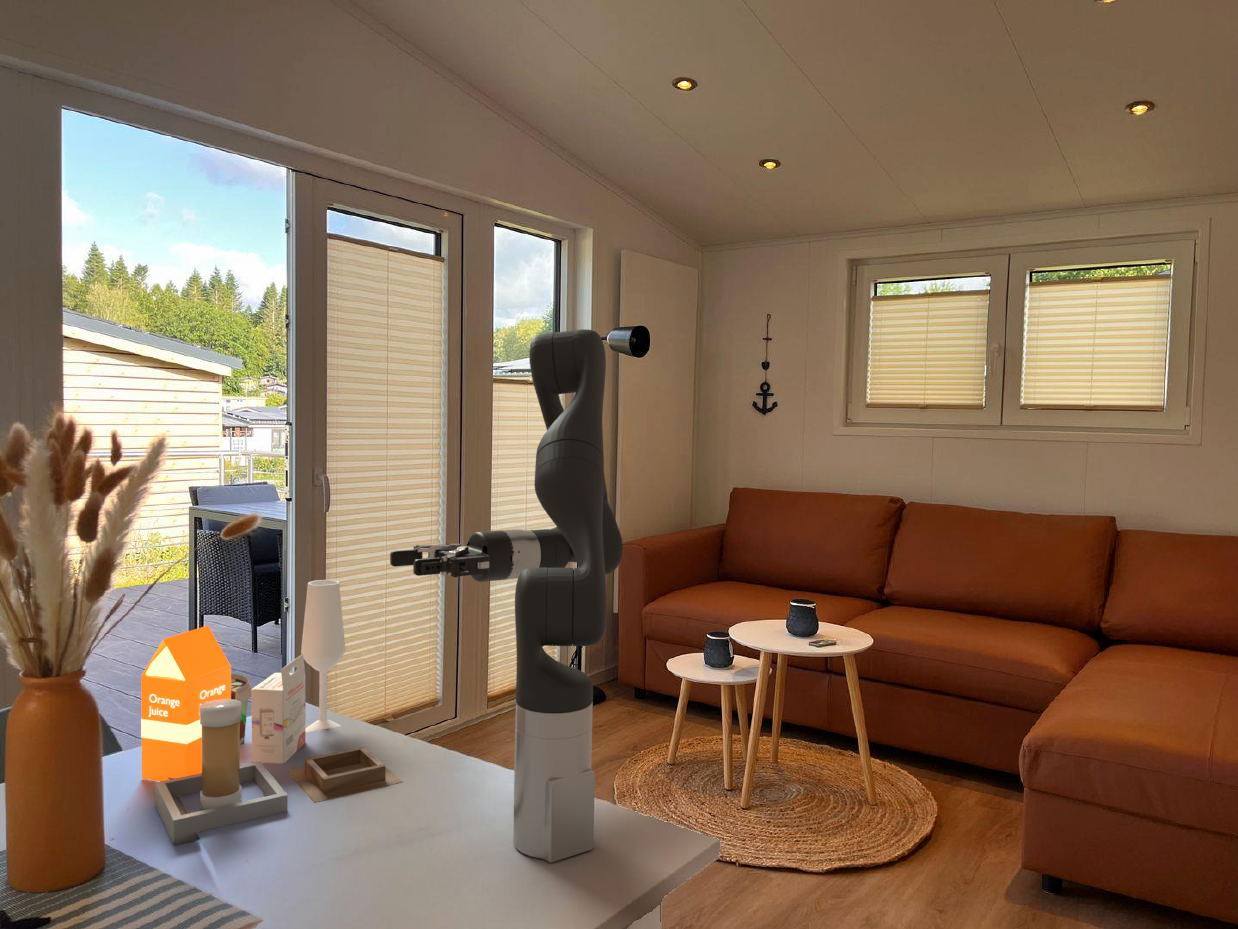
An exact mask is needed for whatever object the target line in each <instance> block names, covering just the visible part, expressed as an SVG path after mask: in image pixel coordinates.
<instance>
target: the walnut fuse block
mask: <svg viewBox="0 0 1238 929" xmlns="http://www.w3.org/2000/svg"><path fill="white" fill-rule="evenodd" d="M287 773H288V774H289V775H290V776H291V778H293V780H294V781H295V782H296V783H297V785H298V786H299V787H300V788H301V789H302V790H303V792H304V793H305V794H306V795H307V796H308V797H309V799H310V800H311V802H313V803H314V804H315V803H320V802H324V801H325V802H326V801H328V800H332V799H333V800H334V799H337V798H341V797H344V796H349V795H350V796H351V795H354V794H358V793H363V792H367V791H371V790H376V789H380V788H385V787H388V786H393V785H396V784H401V783H404V781H403V780H402V779H401V778H399V777H398V775H396V774H395V773H394V772H393V771H391V769H389V767H387V766H386V765H385V764H384V763H383V762H382V761H381V760H380V759H378V758H377V757H376V756H375V755H374V754H373V753H371V752H370V751H369V750H368V749H367V748H366V747H365V746H361V747H356V748H350V749H346V750H342V751H336V752H332V753H331V752H330V753H327V754H321V755H317V756H312V757H308V758H307V757H306V758H304V767H303V768H302V767H301V768H297V769H292V770H288V771H287Z"/></svg>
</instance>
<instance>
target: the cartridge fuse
mask: <svg viewBox="0 0 1238 929" xmlns="http://www.w3.org/2000/svg"><path fill="white" fill-rule="evenodd" d="M240 720H241V702H240V701H238V700H234V699H220V700H213V701H209V702H206V703H204V704H202V705H201V706H200V724H201V725H202V790H201V791H200V792H199V796H200V797H199V801H200V802H199V803H200V805H199V808H200V811H203V810H207V809H212V808H216V807H221V806H225V805H230V804H234V803H239V802H242V785H241V783H240V765H241V764H240V763H241V762H240V758H241V756H240V755H241V754H240V750H241V749H240V747H241V746H240Z"/></svg>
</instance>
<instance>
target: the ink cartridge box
mask: <svg viewBox="0 0 1238 929" xmlns="http://www.w3.org/2000/svg"><path fill="white" fill-rule="evenodd" d="M293 668H296V670H295V671H294V672H291V671H292V670H293ZM305 669H306V668H305V660H304V658H303V655H302V654H300V655H299V656H298V657H296V658H294V659H293V660H291V661H290V662H288V663H287V664H286V665H285V666H283V667H282V668H281V669H280V670H281V671H280V672H274V673H272V674H271V675H269V676H268V677H267V678H265V679H264V680H262V681H261V682H260V683H259V684H257V685H255V686H254V687H252V689H251V697H250V698H251V699H250V701H251V705H250V706H251V751H252V752H251V754H252V757H251V760H252V761H251V763H255V762H260V761H261V763H262V764H285V763H287V762H288V761H289V760H290V759H291V757H292V756H293V755H294V754H296V752H297V751H299V749H300V748H301V747H302V746H304V744H305V743H306V733H305V728H306V670H305Z"/></svg>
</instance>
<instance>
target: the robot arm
mask: <svg viewBox="0 0 1238 929" xmlns="http://www.w3.org/2000/svg"><path fill="white" fill-rule="evenodd" d="M604 344H605V343H604V341H603V339H602V336H601V335H600V334H599V333H598V332H597V331H595V330H593V329H584V328H583V329H575V330H567V331H566V330H565V331H557V332H549V333H548V332H547V333H541V334H536V335H535V336H534V337H533V338H532V339H531V341H530V345H529V352H528V353H529V369H530V373H531V380H532V382H533V386H534V392H535V394H536V398H537V401H538V404H539V407H540V412H541V414H542V417H543V418H542V419H543V422H544V425H545V428H546V432H545V433H544V434H543V436H542V437H541V439H540V441H539V443H538V445H537V448H536V453H535V466H534V469H535V470H534V492H535V495H536V497H537V499H538V501H539V503H540V505H541V507H542V508H543V510H544V511H545V513H546V515H548V517H549V518H550V520H551V521H552V522H553V523H554V525H555V526H556V527H553V528H548V529H547V528H544V529H543V528H542V529H541V528H540V529H530V530H529V529H528V530H527V529H502V530H500V529H499V530H487V531H486V530H485V531H476V532H473V534H471V535H470V537H469V538H468V541H467V543H466V545H462V544H461V543H449V542H447V543H443V544H441V543H439V544H428V545H427V544H426V545H425V544H423V545H419V544H417V545H413V549H402V550H392V551H391V552H390V553H389V564H390V566H392V567H405V566H412V568H413V571H412V572H413V574H414V575H415V576H417V577H419V576H422V577H423V576H430V575H442V576H445V577H446V576H450V577H453V578H458V577H465V576H466V577H467V576H471V578H472V579H473V580H474V581H476V582H478V583H486V582H487V583H489V582H496V581H506V580H515V579H517V581H516V585H515V593H514V617H515V618H514V622H515V623H514V624H515V640H516V642H515V643H516V644H515V645H516V679H515V680H516V681H515V682H516V684H515V685H516V686H515V717H514V718H515V720H514V721H515V722H514V723H515V725H514V726H515V727H514V767H513V768H514V773H513V774H514V775H513V776H514V777H513V782H514V783H513V837H512V838H513V839H512V842H513V846H514V847H515V849H516V850H518V851H519V852H520V853H522V854H524V855H526V856H528V857H532V858H537V859H543V860H545V861H546V862H547V863H554V862H557V861H561V860H564V859H566V858H570V857H574V856H576V855H579V854H582V853H585V852H588V851H591V850H594V842H595V840H594V839H595V838H594V836H595V834H594V833H595V793H596V792H595V789H596V788H595V787H596V786H595V785H596V784H595V783H596V773H595V771H594V770H593V769H592V750H593V749H592V748H593V747H592V746H593V745H592V744H593V707H594V706H593V703H594V702H593V701H594V700H593V699H594V686H593V680H592V679H591V677H590V676H589V675H588V674H587V673H585V672H584V671H581V670H580V669H577V668H575V667H571V666H569V665H566V664H564V663H562V662H560V661H558V660H556V659H555V658H553V657H552V656H551V655H549V654H548V652H546V651H545V649H544V647H546V646H547V647H590V646H595V645H597V644H599V643H600V642H601V640H602V639H603V637H604V635H605V632H606V627H607V621H608V620H607V619H608V597H607V594H608V593H607V582H606V575H609V574H611V573H613V572H614V571H615V570H616V569H617V568H618V567H619V565H620V563H621V561H622V558H623V556H624V555H623V554H624V546H623V545H624V543H623V538H622V535H621V532H620V527H619V526H618V523H617V520H616V518H615V515H614V513H613V510H612V508H611V506H610V504H609V499H608V490H607V483H606V477H605V455H604V436H603V435H604V434H603V433H604V430H603V411H604V399H605V398H604V397H605V388H606V387H605V386H606V385H605V384H606V369H607V368H606V367H607V358H606V350H605V348H606V347H605V345H604ZM563 394H574V396H573V398H572V400H571V401H570V403H569V404H568V405H567V407H566V408H565V409H564V407H563V404H562V402H561V399H560V395H563ZM423 553H428V554H427V557H423ZM568 563H576V564H577V567H567V565H568Z"/></svg>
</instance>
